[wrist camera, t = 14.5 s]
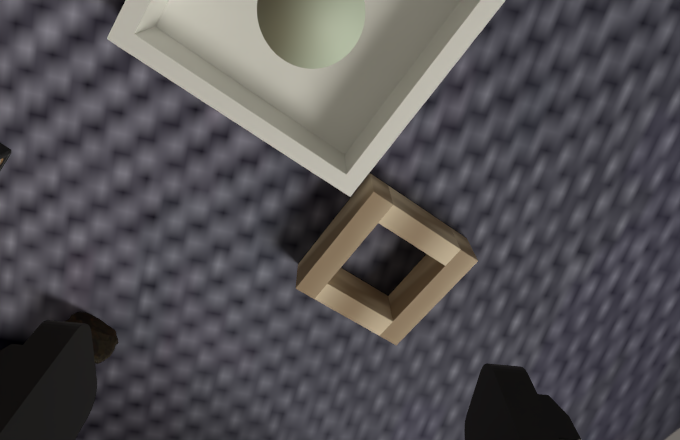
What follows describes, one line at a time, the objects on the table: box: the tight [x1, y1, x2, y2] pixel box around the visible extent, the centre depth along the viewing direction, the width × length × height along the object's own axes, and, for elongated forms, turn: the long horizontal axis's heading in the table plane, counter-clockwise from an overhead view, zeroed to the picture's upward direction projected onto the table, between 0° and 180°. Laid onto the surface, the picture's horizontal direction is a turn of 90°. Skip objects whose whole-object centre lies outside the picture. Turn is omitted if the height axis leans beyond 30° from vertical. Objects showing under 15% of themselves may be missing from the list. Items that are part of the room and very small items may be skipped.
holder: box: [296, 174, 478, 345], centre depth 34 cm, size 8×8×3 cm
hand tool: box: [64, 312, 118, 364], centre depth 39 cm, size 19×4×5 cm, turn 134°
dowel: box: [257, 0, 365, 69], centre depth 23 cm, size 4×4×10 cm
